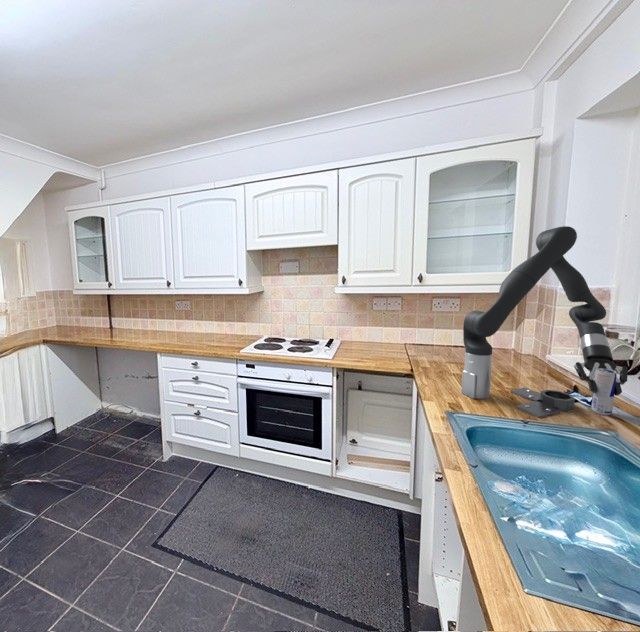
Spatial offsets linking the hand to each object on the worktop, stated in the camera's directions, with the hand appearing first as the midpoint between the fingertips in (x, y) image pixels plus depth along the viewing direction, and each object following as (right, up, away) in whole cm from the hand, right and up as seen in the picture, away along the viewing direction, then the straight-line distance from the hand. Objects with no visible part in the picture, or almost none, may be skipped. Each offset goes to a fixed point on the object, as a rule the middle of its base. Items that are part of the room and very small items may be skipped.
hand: (606, 393), depth 97 cm
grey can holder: (-16, -7, +12) cm, 21 cm away
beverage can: (+1, -8, +3) cm, 8 cm away
